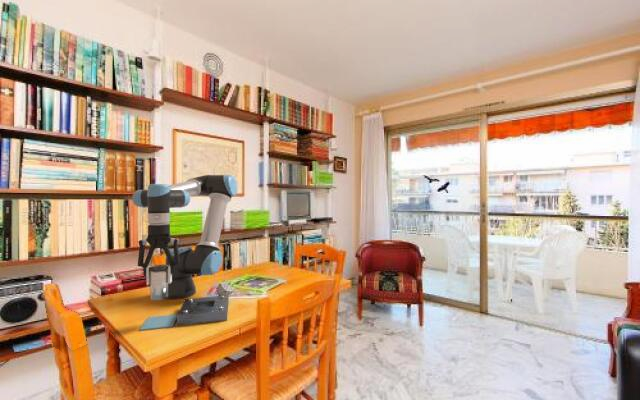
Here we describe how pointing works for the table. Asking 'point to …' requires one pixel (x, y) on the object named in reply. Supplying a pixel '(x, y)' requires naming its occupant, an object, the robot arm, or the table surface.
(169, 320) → the mat
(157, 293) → the silver cylinder
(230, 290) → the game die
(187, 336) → the table surface
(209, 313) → the housing
